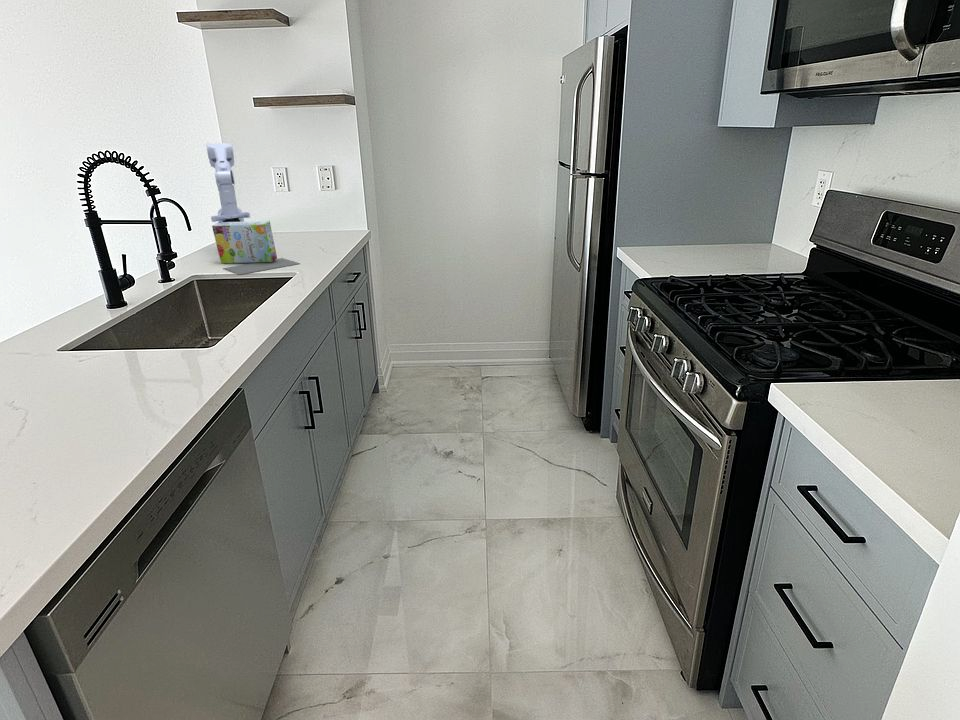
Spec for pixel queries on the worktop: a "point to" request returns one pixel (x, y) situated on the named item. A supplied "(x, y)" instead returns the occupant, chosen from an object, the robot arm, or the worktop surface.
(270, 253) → the snack box
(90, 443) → the worktop surface
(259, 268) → the mat
